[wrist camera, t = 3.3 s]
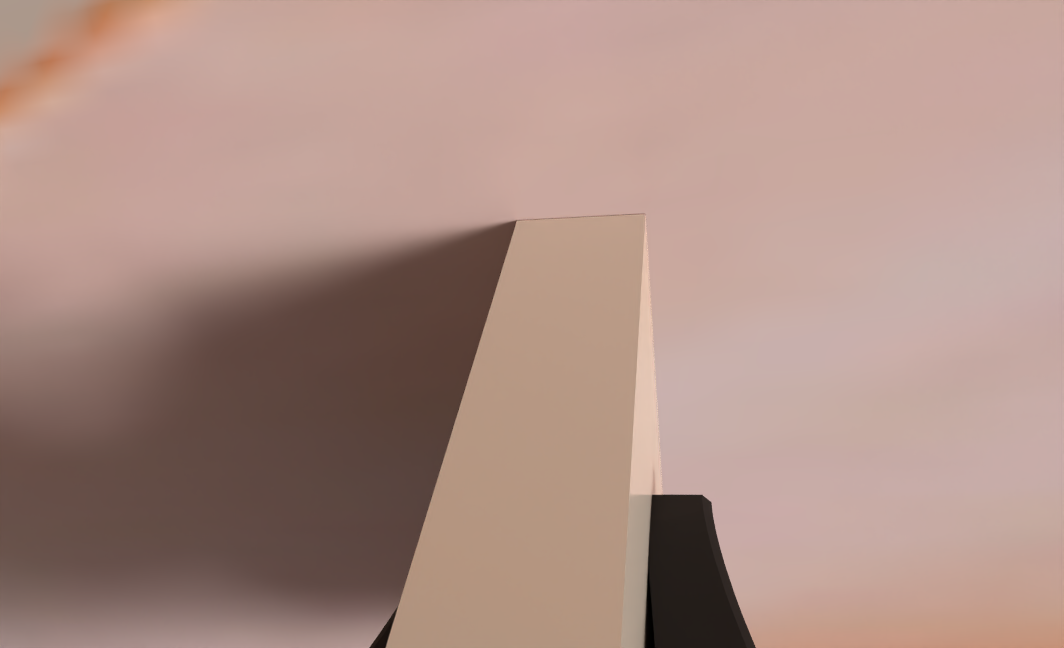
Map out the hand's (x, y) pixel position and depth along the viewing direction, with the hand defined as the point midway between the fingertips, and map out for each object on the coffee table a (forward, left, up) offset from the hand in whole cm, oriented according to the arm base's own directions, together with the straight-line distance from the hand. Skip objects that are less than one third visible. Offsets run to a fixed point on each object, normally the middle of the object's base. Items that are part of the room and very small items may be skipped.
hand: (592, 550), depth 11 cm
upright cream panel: (0, 0, -2) cm, 2 cm away
